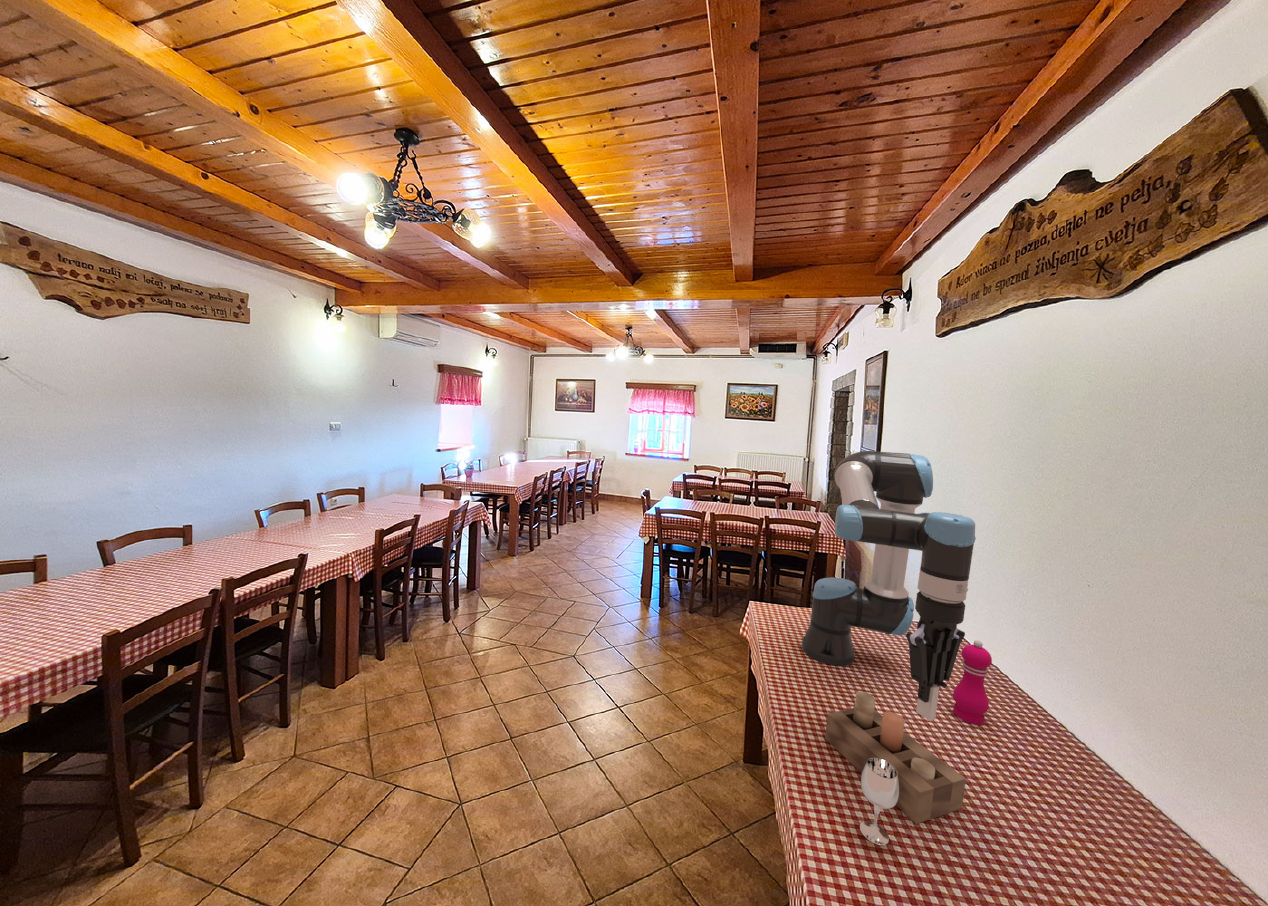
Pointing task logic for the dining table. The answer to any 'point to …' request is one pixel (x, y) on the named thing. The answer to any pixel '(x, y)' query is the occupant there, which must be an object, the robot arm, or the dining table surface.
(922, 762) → the near beech plug
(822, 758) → the dining table surface
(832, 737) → the walnut socket block
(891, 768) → the wineglass
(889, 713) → the rust plug
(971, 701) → the pepper mill
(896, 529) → the robot arm
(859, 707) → the far beech plug
